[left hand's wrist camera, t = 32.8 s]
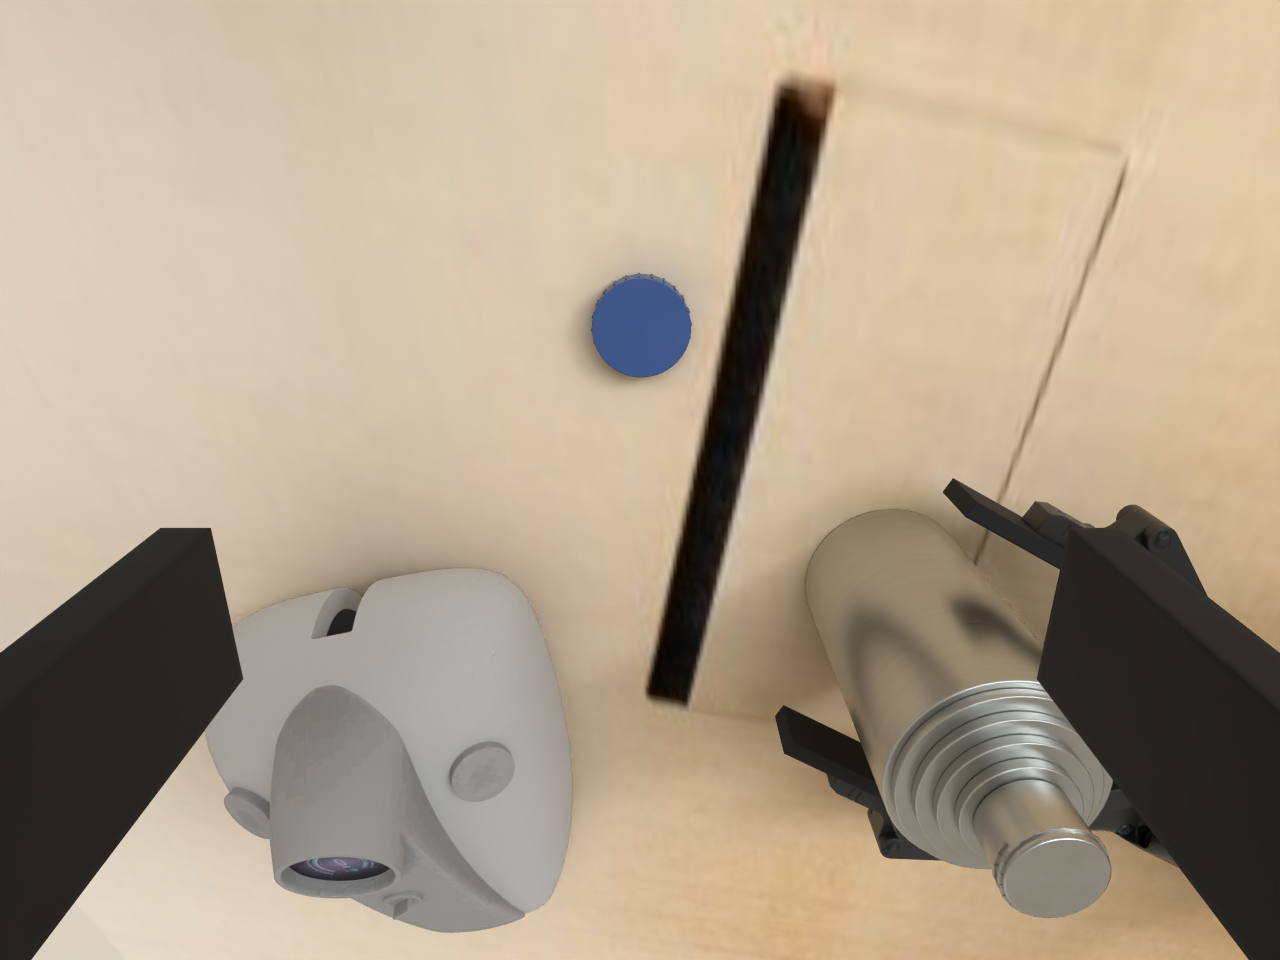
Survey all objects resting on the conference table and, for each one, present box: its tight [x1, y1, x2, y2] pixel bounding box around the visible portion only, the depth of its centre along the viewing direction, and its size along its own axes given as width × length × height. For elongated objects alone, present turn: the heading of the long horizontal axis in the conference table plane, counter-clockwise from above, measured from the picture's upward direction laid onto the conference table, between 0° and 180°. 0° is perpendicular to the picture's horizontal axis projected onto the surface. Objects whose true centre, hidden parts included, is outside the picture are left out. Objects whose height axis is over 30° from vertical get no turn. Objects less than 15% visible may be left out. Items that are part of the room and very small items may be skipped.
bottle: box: [805, 509, 1113, 918], centre depth 34 cm, size 8×8×19 cm
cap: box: [591, 273, 692, 377], centre depth 37 cm, size 5×5×2 cm
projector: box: [205, 568, 573, 933], centre depth 39 cm, size 22×23×15 cm
